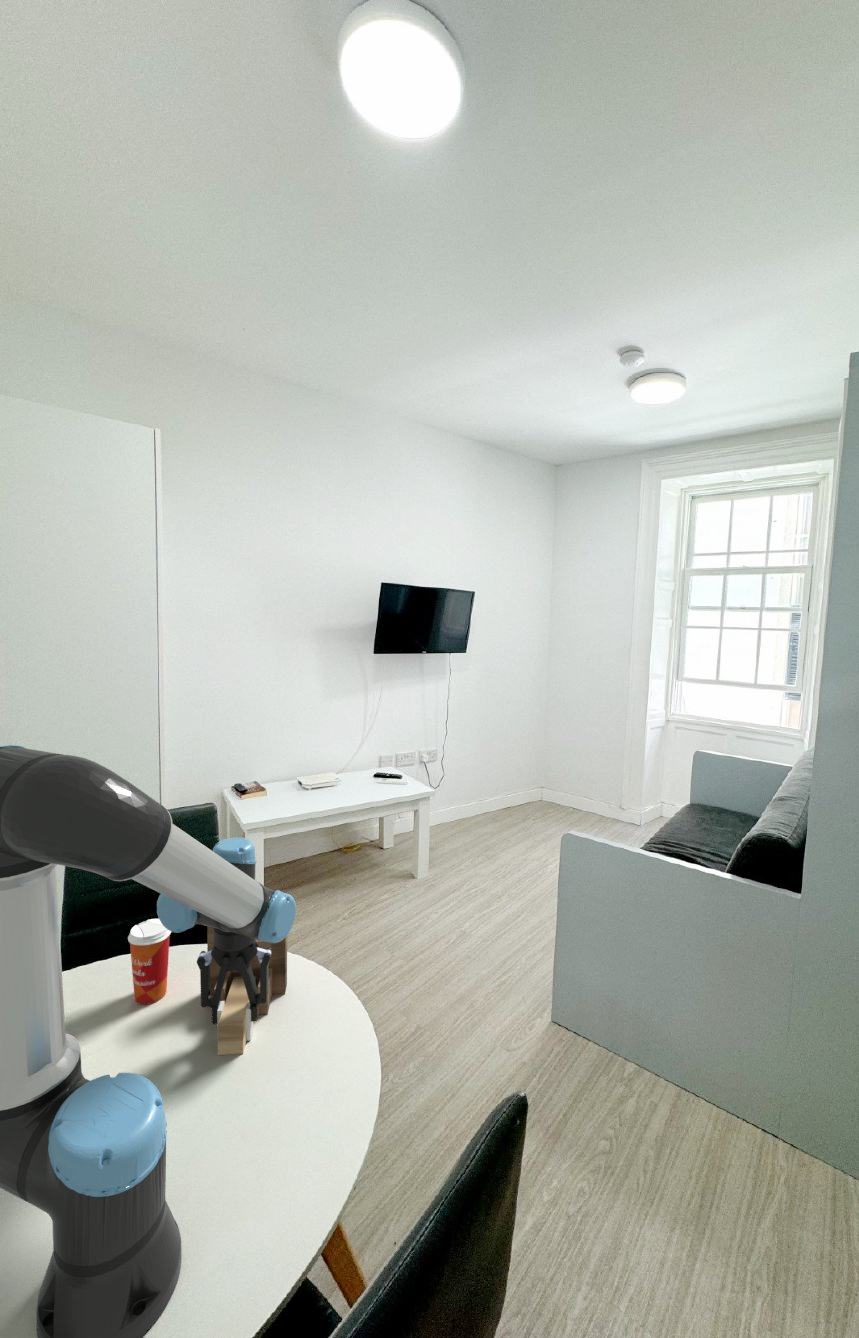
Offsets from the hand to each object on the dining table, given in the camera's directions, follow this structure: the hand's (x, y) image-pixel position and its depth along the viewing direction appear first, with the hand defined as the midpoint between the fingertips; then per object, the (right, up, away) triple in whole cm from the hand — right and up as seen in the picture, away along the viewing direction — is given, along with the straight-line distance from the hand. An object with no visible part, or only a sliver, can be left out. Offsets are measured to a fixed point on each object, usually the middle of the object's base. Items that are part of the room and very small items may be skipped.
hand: (235, 1036), depth 108 cm
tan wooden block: (0, 0, +2) cm, 2 cm away
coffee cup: (-22, +1, +11) cm, 24 cm away
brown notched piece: (-1, +1, +10) cm, 10 cm away
